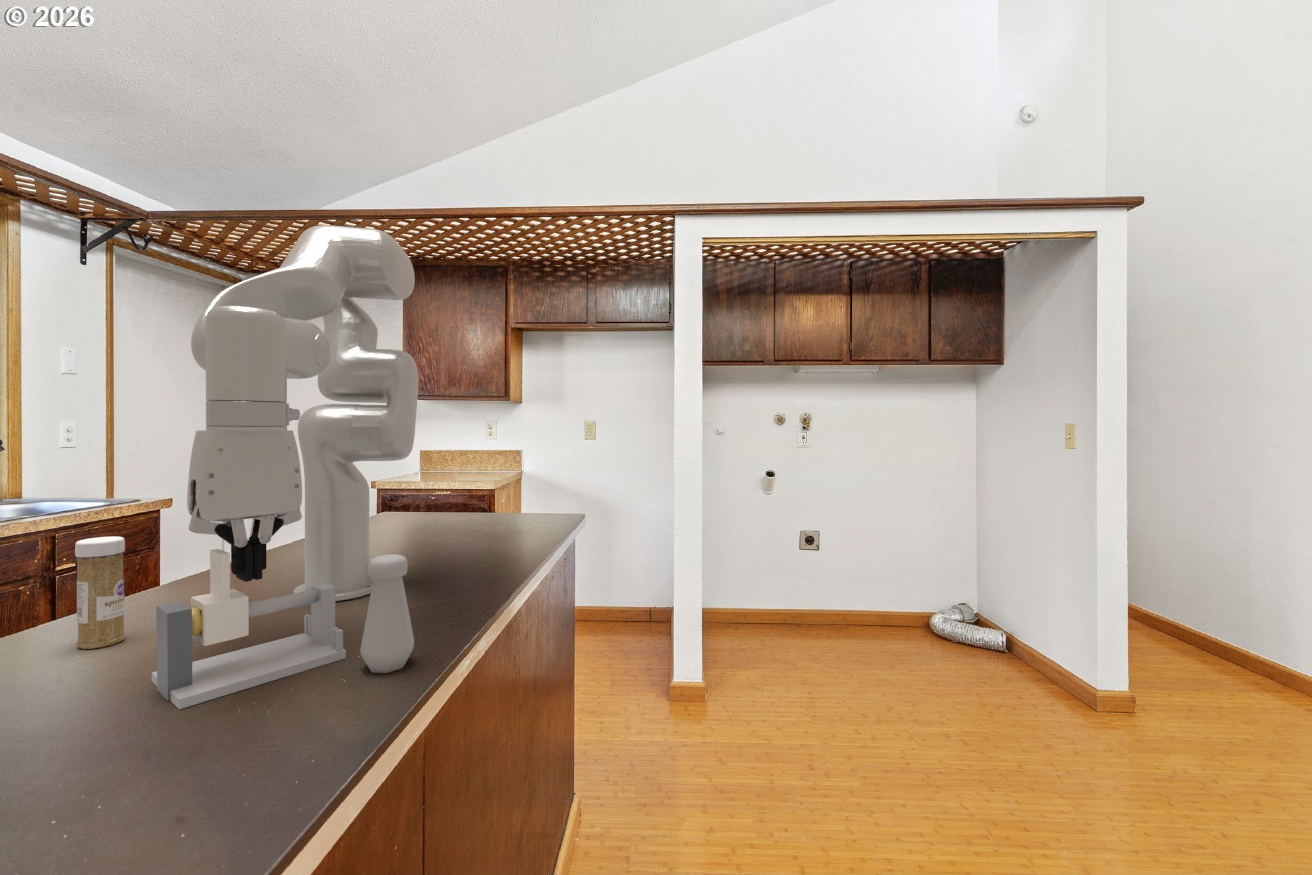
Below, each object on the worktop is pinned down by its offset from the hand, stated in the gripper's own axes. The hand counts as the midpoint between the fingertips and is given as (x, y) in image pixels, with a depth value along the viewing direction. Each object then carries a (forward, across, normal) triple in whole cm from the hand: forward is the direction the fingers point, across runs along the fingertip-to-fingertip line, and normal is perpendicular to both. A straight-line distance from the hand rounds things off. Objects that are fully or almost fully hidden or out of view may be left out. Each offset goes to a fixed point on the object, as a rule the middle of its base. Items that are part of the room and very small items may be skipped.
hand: (249, 578), depth 65 cm
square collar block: (+6, +3, 0) cm, 6 cm away
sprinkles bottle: (+11, +8, -24) cm, 28 cm away
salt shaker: (+11, -10, +11) cm, 19 cm away
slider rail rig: (+11, 0, 0) cm, 11 cm away
